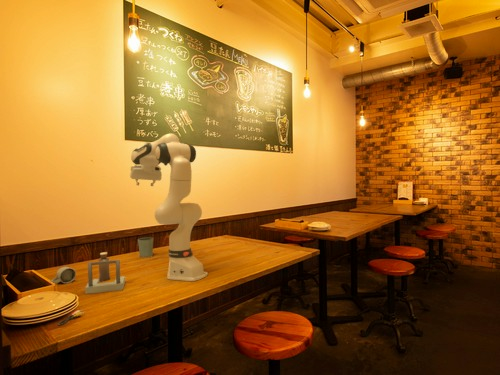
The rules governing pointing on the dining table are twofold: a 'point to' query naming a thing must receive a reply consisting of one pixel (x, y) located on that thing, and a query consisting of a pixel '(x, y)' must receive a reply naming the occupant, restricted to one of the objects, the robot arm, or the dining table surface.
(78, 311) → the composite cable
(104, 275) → the sake bottle
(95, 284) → the grey frame stand
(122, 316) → the dining table surface
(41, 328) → the dining table surface
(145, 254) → the grey tapered bin
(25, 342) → the dining table surface
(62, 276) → the ceramic mug
